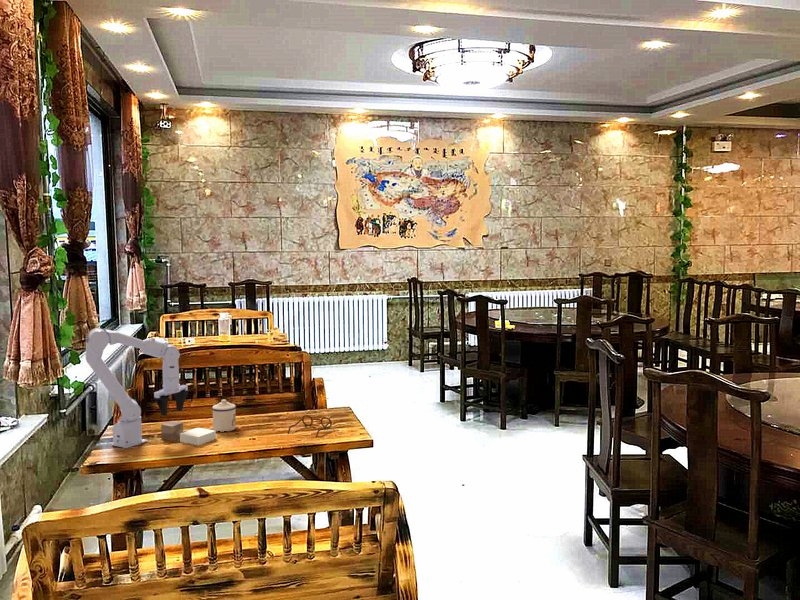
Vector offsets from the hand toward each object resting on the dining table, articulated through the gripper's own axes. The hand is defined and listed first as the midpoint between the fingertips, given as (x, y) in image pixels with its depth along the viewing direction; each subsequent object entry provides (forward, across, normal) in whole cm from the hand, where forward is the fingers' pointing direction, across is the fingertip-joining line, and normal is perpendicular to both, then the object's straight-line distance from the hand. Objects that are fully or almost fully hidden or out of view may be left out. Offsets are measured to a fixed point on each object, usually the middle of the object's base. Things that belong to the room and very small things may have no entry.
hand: (171, 413), depth 247 cm
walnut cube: (+10, 0, 0) cm, 10 cm away
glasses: (+10, +31, -40) cm, 52 cm away
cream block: (+10, +2, -11) cm, 15 cm away
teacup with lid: (+10, +19, -8) cm, 23 cm away
